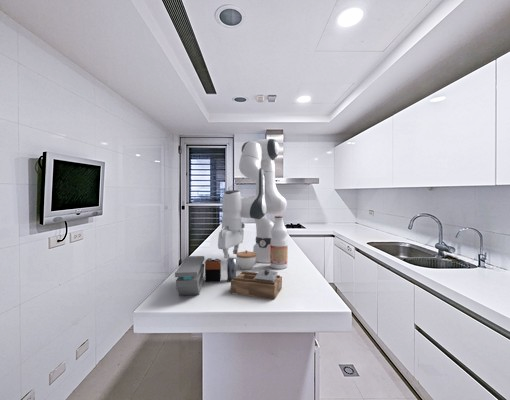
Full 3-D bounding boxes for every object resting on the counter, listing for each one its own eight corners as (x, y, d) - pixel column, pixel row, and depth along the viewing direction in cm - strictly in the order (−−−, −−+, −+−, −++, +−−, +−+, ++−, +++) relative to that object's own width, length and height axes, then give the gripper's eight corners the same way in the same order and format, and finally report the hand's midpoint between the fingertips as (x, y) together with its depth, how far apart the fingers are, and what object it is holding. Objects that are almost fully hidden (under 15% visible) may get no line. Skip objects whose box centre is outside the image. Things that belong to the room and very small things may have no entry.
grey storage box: (197, 301, 92) (197, 272, 92) (175, 302, 91) (175, 272, 91) (204, 279, 117) (204, 255, 117) (187, 279, 116) (187, 256, 116)
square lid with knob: (261, 276, 106) (261, 267, 106) (277, 277, 103) (277, 269, 103) (255, 281, 99) (255, 272, 99) (273, 283, 97) (273, 273, 97)
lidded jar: (233, 269, 132) (233, 252, 131) (239, 264, 142) (239, 248, 142) (253, 271, 129) (253, 253, 129) (258, 265, 139) (258, 249, 139)
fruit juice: (278, 270, 131) (279, 216, 131) (266, 266, 138) (266, 215, 138) (291, 267, 137) (291, 215, 137) (278, 263, 144) (279, 214, 144)
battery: (206, 278, 117) (206, 257, 117) (220, 278, 118) (220, 257, 117) (204, 282, 113) (204, 259, 113) (220, 282, 113) (220, 259, 113)
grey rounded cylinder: (229, 278, 118) (229, 257, 118) (237, 279, 117) (237, 258, 116) (225, 281, 114) (225, 259, 114) (233, 282, 113) (233, 260, 113)
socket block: (242, 283, 111) (242, 270, 111) (281, 288, 106) (281, 274, 105) (230, 293, 100) (230, 278, 100) (274, 299, 94) (274, 284, 94)
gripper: (228, 228, 104) (227, 261, 104) (246, 224, 123) (245, 252, 123) (214, 227, 106) (213, 260, 106) (234, 223, 125) (233, 251, 125)
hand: (231, 255), depth 115 cm, fingers open, 8 cm apart
